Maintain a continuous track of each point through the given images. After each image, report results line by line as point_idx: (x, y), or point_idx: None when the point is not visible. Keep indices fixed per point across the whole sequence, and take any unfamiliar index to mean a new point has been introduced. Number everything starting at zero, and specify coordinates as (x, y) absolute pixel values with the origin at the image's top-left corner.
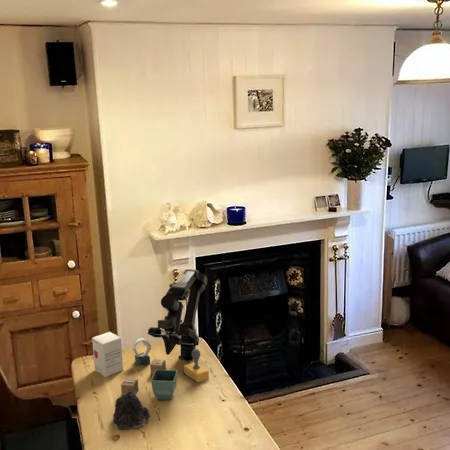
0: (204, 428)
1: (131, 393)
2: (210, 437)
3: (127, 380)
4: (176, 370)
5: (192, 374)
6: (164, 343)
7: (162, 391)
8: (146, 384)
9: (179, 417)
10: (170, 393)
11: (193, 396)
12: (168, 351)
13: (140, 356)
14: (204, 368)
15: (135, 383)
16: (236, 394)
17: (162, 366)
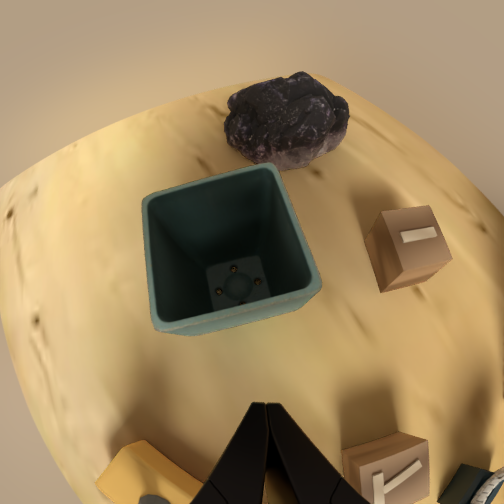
0: (77, 177)
1: (306, 99)
2: (69, 159)
3: (433, 242)
4: (161, 326)
5: (166, 470)
6: (362, 497)
7: (222, 220)
8: (378, 353)
9: (142, 188)
10: (186, 235)
11: (122, 322)
12: (246, 419)
13: (488, 480)
14: (116, 501)
15: (389, 239)
16: (14, 361)
17: (356, 473)
